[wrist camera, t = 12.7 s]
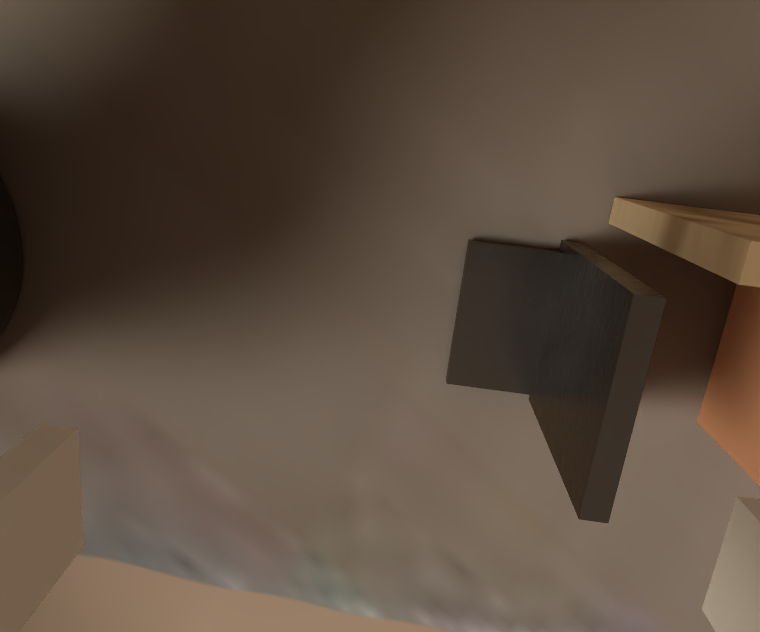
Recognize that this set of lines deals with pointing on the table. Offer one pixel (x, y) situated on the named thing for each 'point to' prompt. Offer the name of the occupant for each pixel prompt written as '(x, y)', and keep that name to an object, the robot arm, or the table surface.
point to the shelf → (696, 235)
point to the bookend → (561, 352)
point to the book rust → (737, 384)
